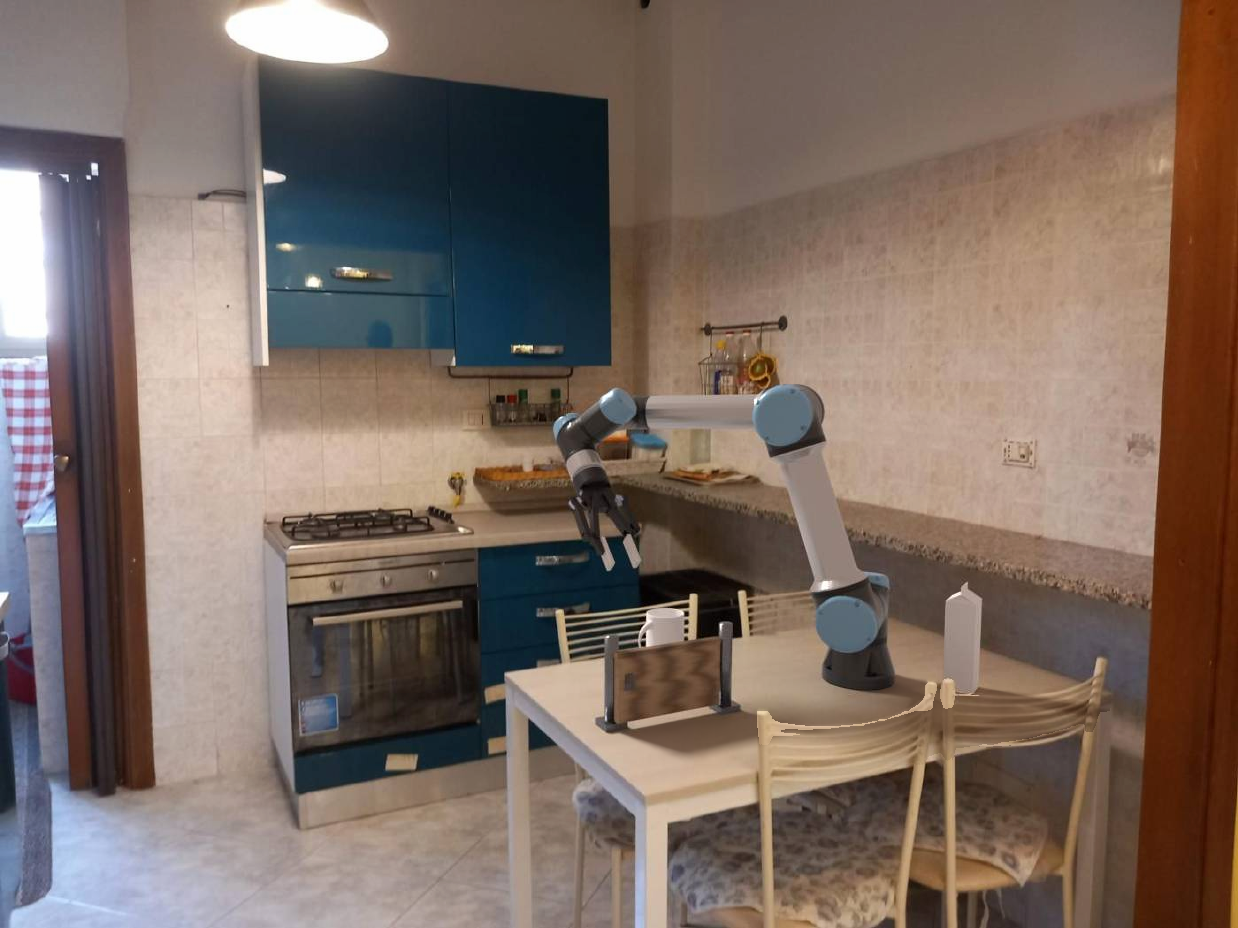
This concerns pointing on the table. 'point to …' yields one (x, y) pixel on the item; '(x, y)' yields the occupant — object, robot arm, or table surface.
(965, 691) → the milk
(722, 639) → the gate frame
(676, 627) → the mug
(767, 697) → the table surface
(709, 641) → the gate
